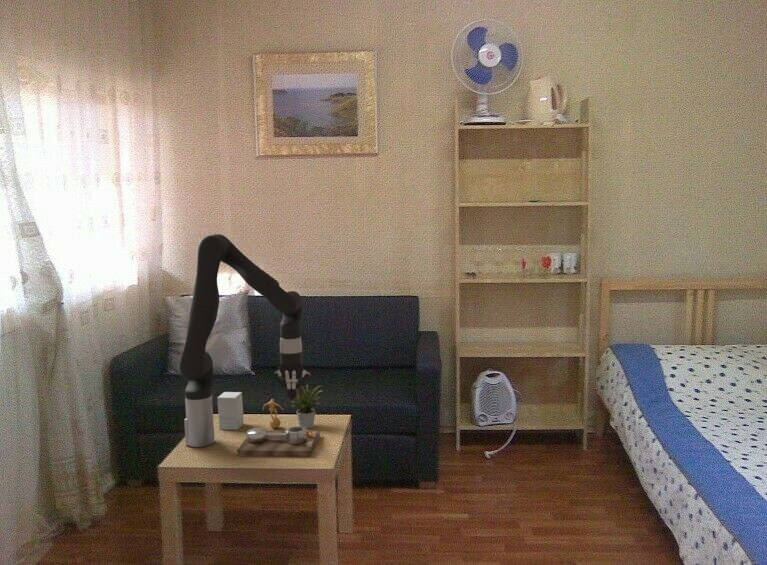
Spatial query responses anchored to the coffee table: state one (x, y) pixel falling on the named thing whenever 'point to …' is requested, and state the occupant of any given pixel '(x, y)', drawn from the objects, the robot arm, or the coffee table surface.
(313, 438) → the stand base
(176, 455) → the coffee table surface
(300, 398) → the house plant
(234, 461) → the coffee table surface
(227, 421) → the supplement box
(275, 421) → the figurine
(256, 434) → the baby rattle
